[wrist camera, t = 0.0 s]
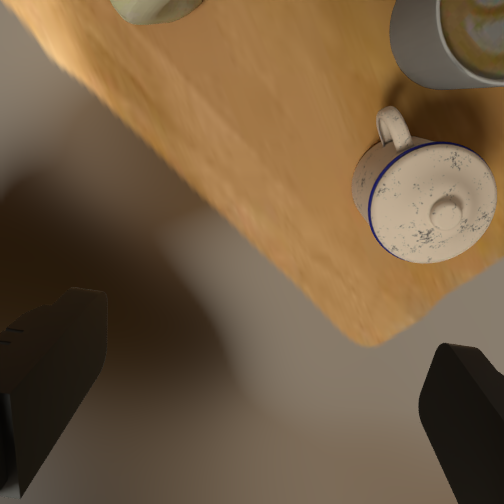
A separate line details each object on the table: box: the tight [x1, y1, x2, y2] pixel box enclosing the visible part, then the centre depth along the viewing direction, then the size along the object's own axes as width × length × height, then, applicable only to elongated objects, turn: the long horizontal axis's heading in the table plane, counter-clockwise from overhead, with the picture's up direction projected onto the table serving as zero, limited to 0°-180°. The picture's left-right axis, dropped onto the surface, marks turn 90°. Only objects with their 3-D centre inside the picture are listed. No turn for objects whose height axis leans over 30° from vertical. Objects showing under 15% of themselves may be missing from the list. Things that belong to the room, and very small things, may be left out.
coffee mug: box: [390, 0, 504, 90], centre depth 28 cm, size 13×10×10 cm
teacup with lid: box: [352, 106, 497, 263], centre depth 31 cm, size 12×9×12 cm
